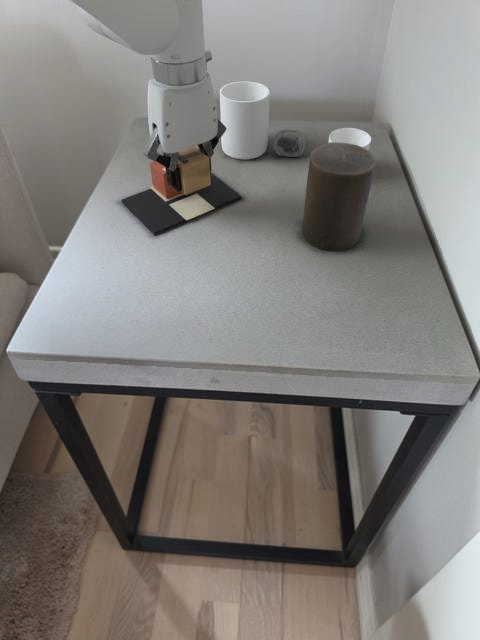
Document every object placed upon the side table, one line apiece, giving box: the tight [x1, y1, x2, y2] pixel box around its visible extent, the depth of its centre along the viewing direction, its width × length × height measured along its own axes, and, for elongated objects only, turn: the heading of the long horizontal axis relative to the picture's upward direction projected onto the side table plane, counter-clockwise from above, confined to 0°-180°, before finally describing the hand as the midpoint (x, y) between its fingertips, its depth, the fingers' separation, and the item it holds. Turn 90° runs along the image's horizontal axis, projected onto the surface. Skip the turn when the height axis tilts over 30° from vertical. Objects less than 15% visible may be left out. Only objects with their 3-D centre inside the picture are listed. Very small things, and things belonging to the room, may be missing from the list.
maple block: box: [177, 146, 211, 195], centre depth 80 cm, size 5×5×5 cm
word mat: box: [121, 172, 242, 236], centre depth 87 cm, size 18×13×1 cm
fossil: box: [272, 129, 306, 158], centre depth 97 cm, size 6×3×5 cm, turn 89°
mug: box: [219, 80, 271, 161], centre depth 96 cm, size 10×12×12 cm
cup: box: [327, 127, 372, 151], centre depth 91 cm, size 8×10×7 cm
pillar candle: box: [301, 142, 377, 252], centre depth 75 cm, size 10×10×15 cm
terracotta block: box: [149, 160, 183, 199], centre depth 87 cm, size 5×5×5 cm
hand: (190, 181), depth 81 cm, fingers closed on maple block, 5 cm apart
